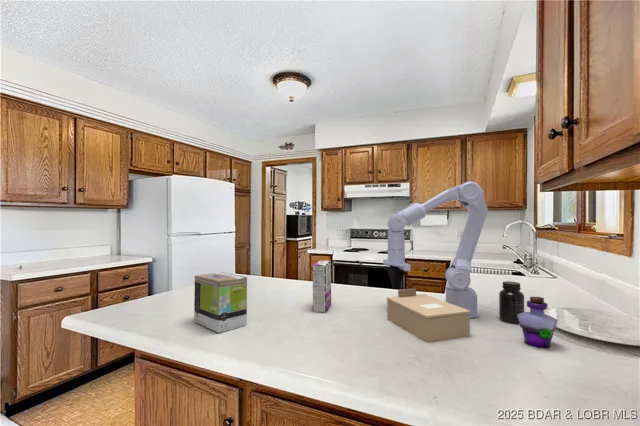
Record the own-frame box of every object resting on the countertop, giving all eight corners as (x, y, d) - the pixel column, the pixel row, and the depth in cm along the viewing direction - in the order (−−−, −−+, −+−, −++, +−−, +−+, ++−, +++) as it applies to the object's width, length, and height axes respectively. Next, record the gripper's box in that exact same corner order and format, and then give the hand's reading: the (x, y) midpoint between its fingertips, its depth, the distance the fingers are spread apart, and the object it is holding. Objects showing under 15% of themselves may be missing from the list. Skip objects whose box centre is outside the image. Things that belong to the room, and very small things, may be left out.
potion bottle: (540, 353, 76) (539, 302, 76) (509, 339, 84) (509, 294, 84) (567, 349, 78) (566, 300, 78) (535, 336, 86) (534, 292, 86)
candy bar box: (318, 303, 120) (318, 260, 120) (331, 304, 118) (331, 260, 119) (311, 312, 109) (311, 264, 109) (326, 313, 108) (326, 264, 108)
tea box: (248, 325, 95) (248, 276, 96) (217, 334, 88) (217, 281, 88) (222, 315, 106) (222, 270, 106) (192, 322, 98) (193, 274, 99)
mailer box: (424, 314, 106) (424, 296, 106) (470, 335, 87) (469, 313, 87) (387, 318, 101) (387, 300, 101) (426, 342, 82) (426, 318, 82)
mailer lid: (424, 295, 106) (424, 287, 106) (470, 313, 87) (470, 302, 87) (386, 299, 102) (386, 290, 102) (426, 318, 82) (426, 307, 82)
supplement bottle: (494, 317, 102) (494, 280, 103) (514, 317, 103) (514, 280, 103) (508, 324, 96) (508, 285, 96) (530, 324, 96) (529, 284, 96)
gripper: (375, 247, 115) (375, 285, 115) (397, 251, 101) (397, 294, 101) (392, 247, 117) (392, 284, 117) (416, 251, 104) (416, 292, 103)
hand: (396, 288), depth 109 cm, fingers closed
